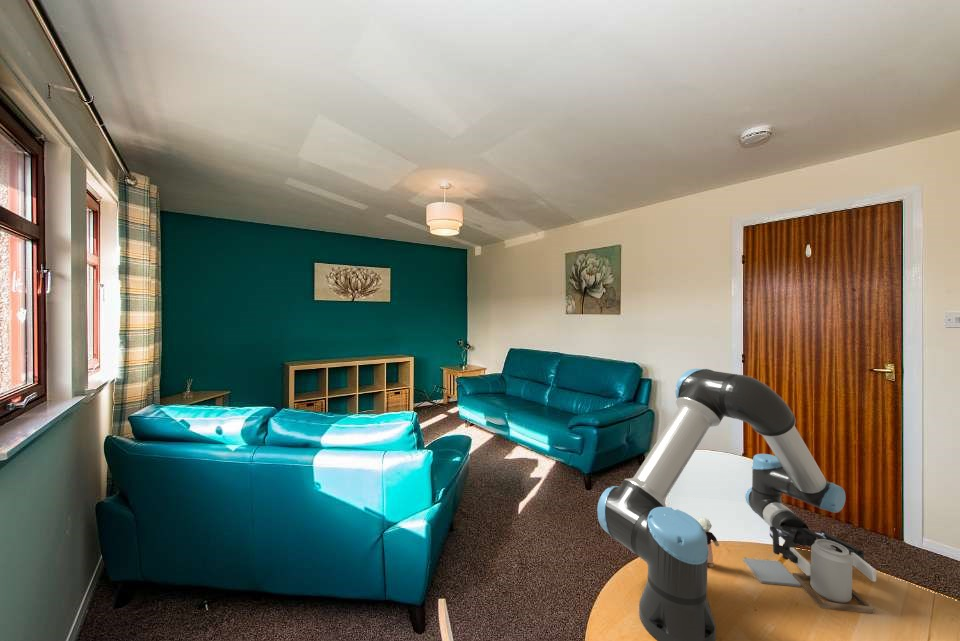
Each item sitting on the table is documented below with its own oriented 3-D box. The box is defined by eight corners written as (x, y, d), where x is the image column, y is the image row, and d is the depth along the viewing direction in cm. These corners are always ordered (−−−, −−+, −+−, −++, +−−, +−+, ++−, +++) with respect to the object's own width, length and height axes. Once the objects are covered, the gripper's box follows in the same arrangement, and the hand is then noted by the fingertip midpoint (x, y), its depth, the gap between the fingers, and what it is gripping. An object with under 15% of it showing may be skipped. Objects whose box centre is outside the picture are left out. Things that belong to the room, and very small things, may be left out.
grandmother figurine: (708, 557, 109) (709, 512, 108) (720, 566, 105) (721, 520, 104) (686, 562, 106) (686, 517, 106) (697, 571, 103) (698, 524, 102)
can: (860, 607, 90) (861, 557, 90) (822, 603, 92) (824, 553, 91) (837, 585, 98) (838, 538, 97) (803, 581, 99) (804, 535, 99)
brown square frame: (821, 607, 90) (821, 603, 90) (792, 576, 101) (792, 572, 101) (873, 613, 89) (873, 609, 89) (838, 580, 99) (838, 576, 99)
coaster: (761, 583, 98) (761, 580, 98) (743, 560, 107) (743, 557, 107) (801, 586, 97) (801, 584, 97) (779, 563, 106) (779, 561, 106)
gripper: (833, 539, 110) (902, 594, 89) (737, 531, 114) (781, 582, 93) (834, 513, 110) (903, 562, 89) (738, 506, 114) (782, 552, 93)
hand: (841, 572), depth 91 cm, fingers open, 13 cm apart
